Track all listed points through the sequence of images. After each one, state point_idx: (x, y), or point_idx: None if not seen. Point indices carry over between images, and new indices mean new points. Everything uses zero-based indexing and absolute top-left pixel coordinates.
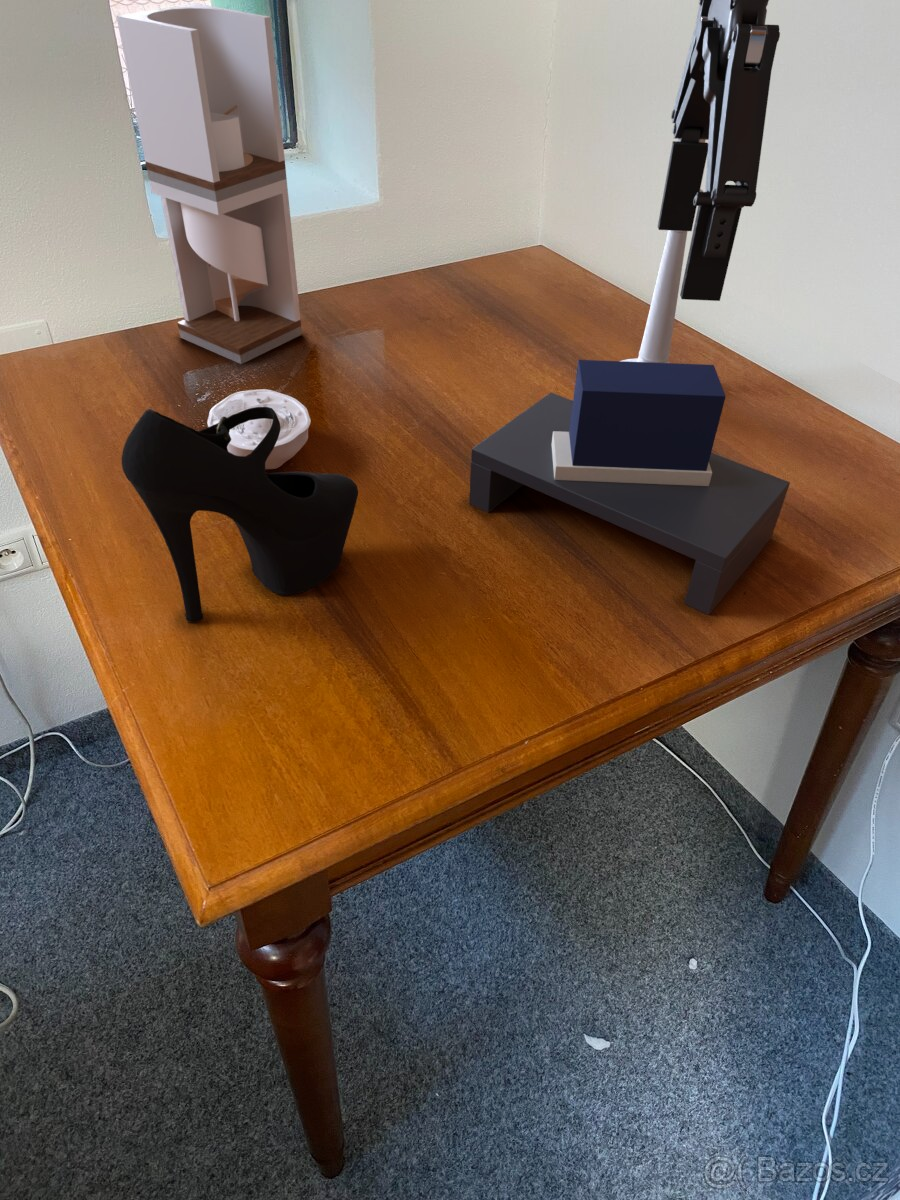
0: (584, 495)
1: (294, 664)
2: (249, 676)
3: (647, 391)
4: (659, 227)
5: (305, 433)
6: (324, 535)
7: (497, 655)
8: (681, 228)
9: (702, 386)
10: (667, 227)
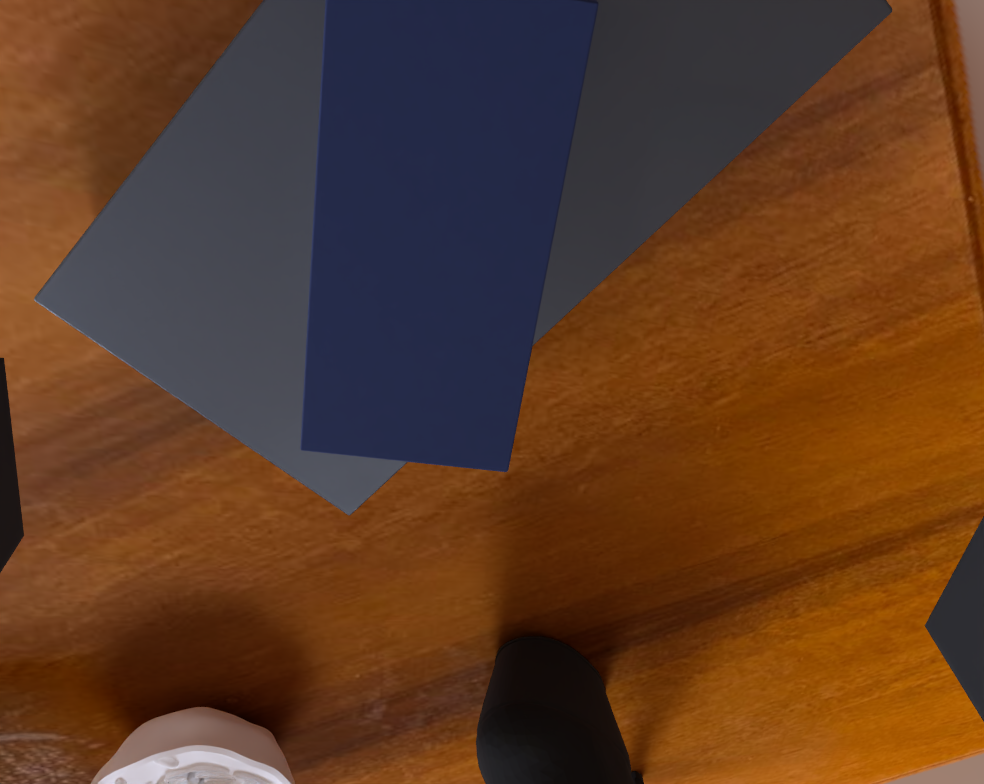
0: (567, 307)
1: (752, 674)
2: (760, 717)
3: (533, 288)
4: (18, 543)
5: (224, 740)
6: (604, 729)
7: (812, 425)
8: (1, 426)
9: (512, 74)
10: (10, 503)
